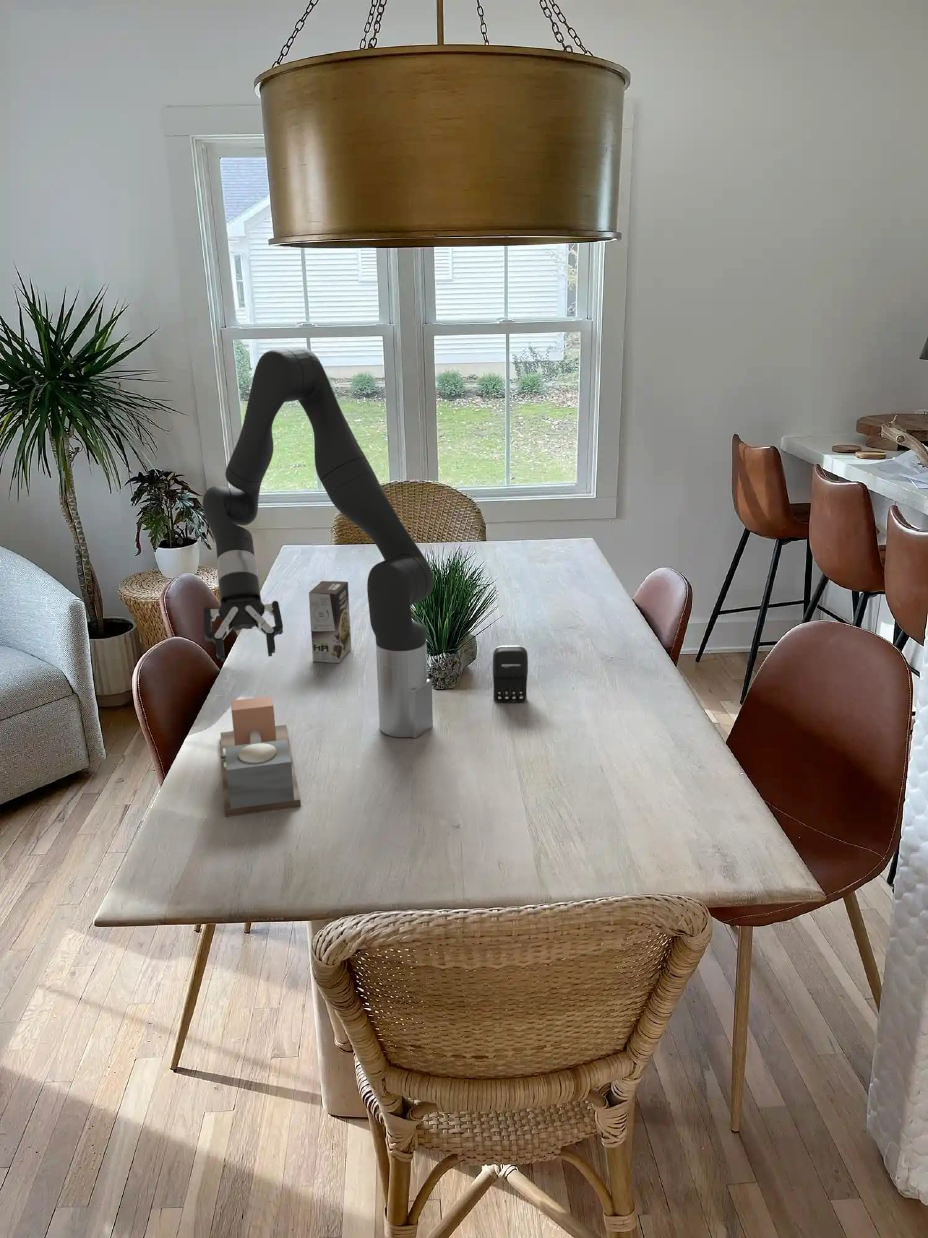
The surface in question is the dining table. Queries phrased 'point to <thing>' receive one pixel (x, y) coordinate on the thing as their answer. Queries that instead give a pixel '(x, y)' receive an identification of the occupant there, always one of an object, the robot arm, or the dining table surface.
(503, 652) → the black battery charger
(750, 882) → the dining table surface
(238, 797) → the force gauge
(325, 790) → the dining table surface
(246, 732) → the block on disc stand
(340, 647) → the coffee box
